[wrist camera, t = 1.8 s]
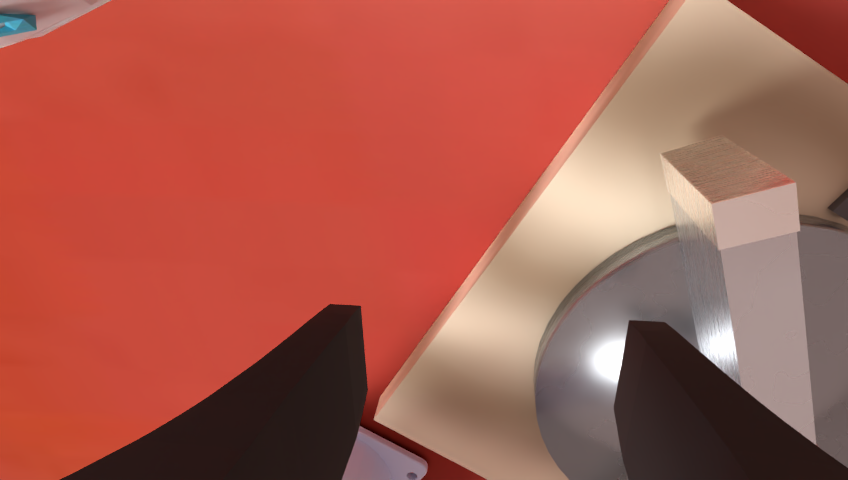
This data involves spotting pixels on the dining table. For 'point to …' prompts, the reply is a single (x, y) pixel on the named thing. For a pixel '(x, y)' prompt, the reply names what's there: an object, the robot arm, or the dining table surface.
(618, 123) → the stand plate
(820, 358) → the dial
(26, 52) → the dining table surface
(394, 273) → the dining table surface
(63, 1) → the puzzle ball
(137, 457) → the robot arm
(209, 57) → the dining table surface
